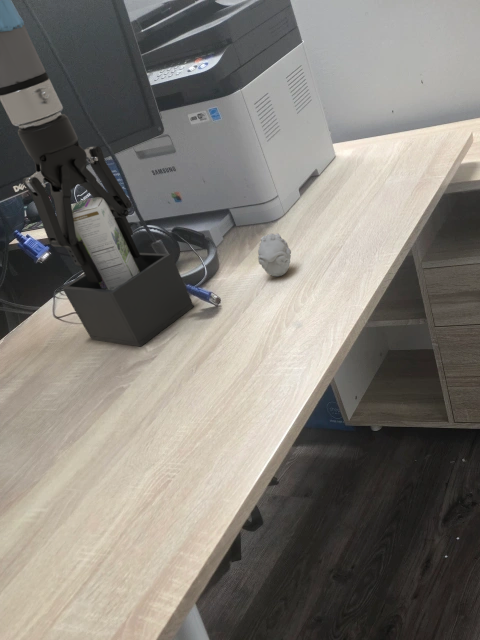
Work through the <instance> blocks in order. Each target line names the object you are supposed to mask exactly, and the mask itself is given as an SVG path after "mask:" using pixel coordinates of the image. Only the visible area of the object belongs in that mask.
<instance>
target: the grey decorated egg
mask: <svg viewBox="0 0 480 640" xmlns="http://www.w3.org/2000/svg"><path fill="white" fill-rule="evenodd" d="M257 255H258V256H257V257H258V258H257V260H258V264H259V265H261V268H262V269H263V270H264V271H265V272H266V273H267V274H268V275H270V276H271V277H282V276H283V275H285V274H287V272H288V270H289V268H290V265H291V257H292V251H291V249H290V248H289V245H288V242H287V241H286V240H285V239H284V238H282V236H281V235H280V233H275V234H274V233H269V234H266V235H263V236H262V237H260V243H259V247H258V249H257Z"/></svg>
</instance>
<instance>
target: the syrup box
mask: <svg viewBox="0 0 480 640" xmlns="http://www.w3.org/2000/svg"><path fill="white" fill-rule="evenodd" d="M71 207H72V214H73V220H74V227H75V233H76V240H77V242H83V244H84V246H85V248H86V250H87V252H88V254H89V256H90V257H91V259H92V261H93V263H94V265H95V267H96V269H97V271H98V273H99V275H100V277H101V278H102V280H103V281H101V282H100V283H99V284H100V286H101V288H102V289H104V290H114V289H116V288H117V287H119V286H120V285H122V284H123V283H125V282H126V281H128V280H129V279H131V278H132V277H134V276H135V275H137V274H138V273H140V271H139V268H138V266H137V264H136V262H135V260H134V258H133V256H132V254H131V252H130V250H129V248H128V246H127V244H126V241H125V239H124V237H123V235H122V233H121V231H120V229H119V227H118V225H117V223H116V221H115V219H114V217H113V215H112V213H111V211H110V209H109V206H108V204H107V203H106V201H105V200H104V199H103V198H102V197H95V198H94V197H89V198H86V199H83V200H79V201H77V202H74V203H73V204H71Z"/></svg>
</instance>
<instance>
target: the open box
mask: <svg viewBox="0 0 480 640" xmlns="http://www.w3.org/2000/svg"><path fill="white" fill-rule="evenodd" d="M139 254H140V257H138V258H134V260H135V262H136V264H137V266H138V268H139V271H140V273H138V274H137V275H135V276H134V277H132V278H131V279H129V280H128V281H126V282H125V283H123V284H122V285H120V286H119V287H117V288H116V289H114V290H104V289H102V288H101V286H100V284H99V283H96V282H89V281H88V279H87V277H86V275H85V274H83V275H80V277H78V278H77V279H75V280H73V281H72V282H70V283H69V284H67V285H66V286H63V287H62V290H63V292H64V294H65V296H66V298H67V299H68V301H69V303H70V305H71V306H72V308H73V310H74V312H75V313H76V315H77V317H78V318H79V320H80V322H81V324H82V325H83V327H84V329H85V331H86V333H87V334H88V336H89V339H91V340H93V341H100V342H107V343H113V344H120V345H127V346H133V347H140V348H141V347H143V346H144V345H145V344H146V343H148V342H149V341H151V339H153V338H154V337H156V336H157V335H158V334H160V333H161V332H162V331H164V330H165V329H166V328H167V327H169V326H170V325H171V324H174V322H176V321H177V320H179V318H181V317H182V316H183V315H185V314H186V313H187V312H189V311H190V310H191V309H193V308H194V307H195V306H194V303H193V301H192V299H191V296H190V294H189V292H188V289H187V287H186V285H185V283H184V280H183V278H182V275H181V273H180V272H179V269H178V266H177V265H176V262H175V260H174V258H173V255H172V254H171V253H153V252H139Z"/></svg>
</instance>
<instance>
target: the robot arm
mask: <svg viewBox="0 0 480 640" xmlns="http://www.w3.org/2000/svg"><path fill="white" fill-rule="evenodd" d="M40 58H41V57H40V55H39V54H38V52H37V50H36V47H35V45H34V44H33V41H32V39H31V36H30V35H29V32H28V29H27V28H26V25H25V22H24V19H23V18H22V17H21V16H20V14H19V12H18V9H17V8H16V6H15V5H14V3H13V1H12V0H0V103H1V105H2V107H3V108H4V110H5V112H6V115H7V117H8V119H9V121H10V122H11V124H12V125H13V126H15V127H18V128H19V129H18V130H17V135H18V137H19V138H20V140H21V142H22V144H23V146H24V148H25V150H26V152H27V154H28V155H29V156H30V158H31V159H32V160H33V162H34V166H35V172H34V173H33V174H32V175H30V176H29V177H24V178H23V179H22V184H23V186H24V187H25V188H26V190H27V191H28V193H29V194H30V195H31V197H32V200H33V203H34V206H35V209H36V210H37V214H38V216H39V218H40V221H41V224H42V226H43V227H42V228H43V229H44V232H45V234H46V237H47V239H48V242H49V244H50V246H51V247H64V248H65V249H66V251H67V253H68V254H69V256H70V258H71V260H72V262H73V263H74V265H75V266H79V267H81V268H80V269H82V272H83V273H84V275H86V277H87V279H88V281H89V282H96V283H100V282H101V281H103V280H102V278H101V277H100V275H99V273H98V271H97V269H96V267H95V265H94V263H93V261H92V259H91V257H90V256H89V254H88V252H87V250H86V248H85V246H84V244H83V242H77V240H76V233H75V227H74V220H73V214H72V207H71V205H72V202H71V198H72V190H74V189H75V187H77V185H78V186H81V187H82V188H83V189H85V191H87V192H88V194H90V195H91V197H92V198H95V197H102V198H103V199H104V200H105V201H106V203H107V204H108V206H109V209H110V211H111V213H112V215H113V217H114V219H115V221H116V223H117V225H118V227H119V229H120V231H121V233H122V235H123V237H124V239H125V241H126V244H127V246H128V248H129V250H130V252H131V254H132V256H133V258H138V257H140V254H139V253H140V252H139V249H138V248H137V245H136V243H135V242H134V241H135V240H134V239H133V237H132V235H134V232H133V228H132V227H131V225H130V222H129V220H128V218H127V217H129V210H128V209H131V208H132V206H133V205H132V201H131V200H130V199H129V197H128V195H127V194H126V192H125V190H124V189H123V187H122V186H121V184H120V182H119V181H118V180H117V178H116V176H115V175H114V172H113V171H112V170H111V168H110V167H109V165H108V164H107V162H106V159H105V155H104V152H103V150H102V148H101V147H100V146H88V147H86V148H85V149H84V148H83V147H82V146H81V145H80V144H79V142H78V139H79V138H78V135H77V133H76V131H75V129H74V126H73V125H72V123H71V120H70V118H69V116H68V115H66V114H65V113H62V111H63V109H64V107H63V104H62V101H61V100H60V98H59V96H58V93H57V92H56V89H55V88H54V85H53V83H52V81H51V79H50V77H49V75H48V73H47V72H46V69H45V67H44V65H43V63H42V60H41V59H40ZM87 162H88V163H89V164H90V167H91V168H92V170H93V172H94V173H95V175H94V174H93V173H92V172H91V171H90V170H89V169H88V168H87ZM96 176H97V177H96ZM97 178H98V179H99V181H100V182H101V183H100V182H99V181H97ZM45 181H46V182H47V183H48V184H49V190H50V195H51V197H52V198H53V203H54V206H53V203H52V201H51V198H50V195H49V192H48V191H47V189H46V187H47V185H46V183H45ZM101 184H102V185H101Z"/></svg>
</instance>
